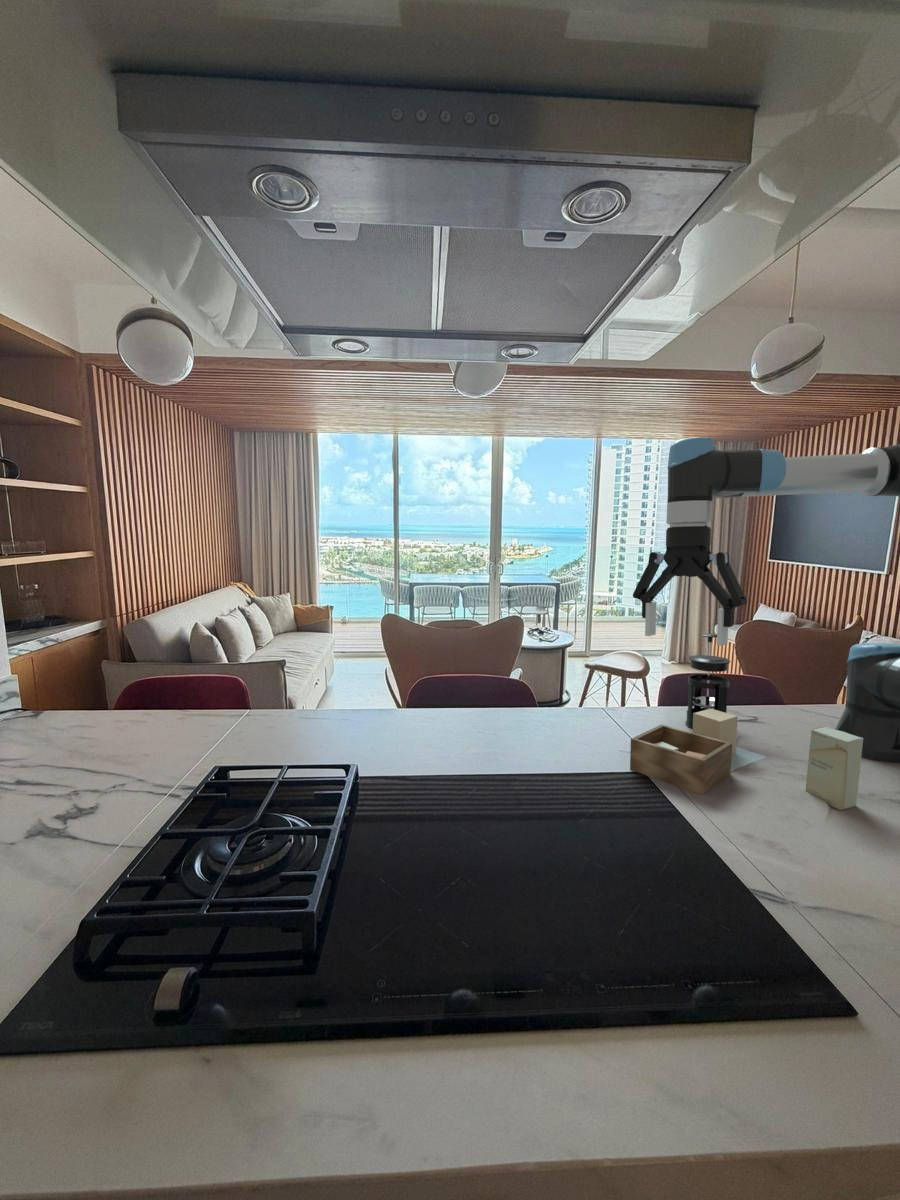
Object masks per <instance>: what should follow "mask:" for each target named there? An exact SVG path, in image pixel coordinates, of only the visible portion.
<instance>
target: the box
mask: <svg viewBox="0 0 900 1200" xmlns="http://www.w3.org/2000/svg"><path fill="white" fill-rule="evenodd" d="M659 742H664V743H667V744H669V745H671V746H674V747H676V748H679V749H678V751H676V750H672V749H669V748H665V747H662V746H659V745H655V743H659ZM687 751H691V752H695V753H700V754H704V755H706V756H704V757H703V758H699V757H696V756H692V755H689V754H686V752H687ZM629 753H630V761H629V770H631V771H633V772H636V773H639V774H640V775H641V774H642V775H645V776H647V777H650V778H653V779H657V780H659V781H661V782H664V783H667V784H671V785H673V786H676V787H678V788H682V789H684V790H688V791H691V792H693V793H696V794H698V795H703V796H704V795H705V794H706V793H708V792H709V791H710V790H712V789H713V788H715V787H716V786H717V785H719V784H720V783H722V781H724V780H725V779H728V778H729V777H730V776H731V773H732V771H731V758H732V743H729V742H726V741H722V740H718V739H714V738H711V737H707V736H703V735H699V734H695V733H693V731H687V730H683V729H679V728H676V727H673V726H669V725H666V724H659V725H656V726H655V727H653V728H651V729H649V730H646V731H645V732H642V733H640V734H637V735H636V736H634V737H632V738H630V751H629Z"/></svg>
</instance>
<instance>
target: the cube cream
mask: <svg viewBox="0 0 900 1200" xmlns="http://www.w3.org/2000/svg"><path fill="white" fill-rule="evenodd" d="M655 745H659V746H662V747H665V748H669V749H672V750H676V751H678V749H679V748H676V747H674V746H671V745H669V744H667V743H664V742H659V743H655Z"/></svg>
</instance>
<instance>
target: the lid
mask: <svg viewBox="0 0 900 1200" xmlns="http://www.w3.org/2000/svg"><path fill="white" fill-rule="evenodd" d="M738 717H739V716H738V715H734V714H731V713H729V712H728V713H727V712H726V713H725V712H721V711H718V710H714V709H710V708H709V709H707V710H703V711H700V712H696V713H693V729H692V733H695V734H699V735H703V736H707V737H711V738H714V739H718V740H722V741H726V742H729V743H732V758H731V772H732V771H734V770H738V769H740V768H742V767H746V766H747V765H750V764H753V763H755V762H759V761H761V760H763V759H766V758H767V756H765V755H762V754H760V753H757V752H754V751H750V750H747V749H745V748H742V747H738V746H737V734H738Z"/></svg>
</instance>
